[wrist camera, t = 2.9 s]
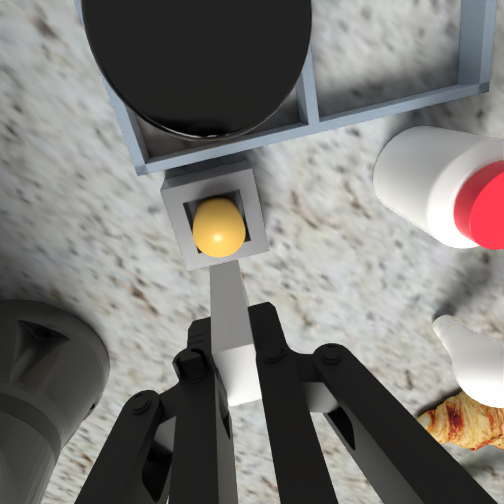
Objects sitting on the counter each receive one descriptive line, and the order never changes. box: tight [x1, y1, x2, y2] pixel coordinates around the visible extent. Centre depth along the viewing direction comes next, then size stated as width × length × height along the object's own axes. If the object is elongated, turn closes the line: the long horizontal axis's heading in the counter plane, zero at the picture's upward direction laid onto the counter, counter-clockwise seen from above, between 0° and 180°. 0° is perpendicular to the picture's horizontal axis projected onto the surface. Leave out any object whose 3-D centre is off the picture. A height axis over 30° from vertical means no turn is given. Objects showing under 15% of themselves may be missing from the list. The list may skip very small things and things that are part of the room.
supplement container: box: [81, 0, 312, 143], centre depth 20 cm, size 10×10×12 cm
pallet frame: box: [74, 0, 497, 176], centre depth 24 cm, size 27×14×2 cm, turn 102°
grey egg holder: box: [160, 160, 270, 271], centre depth 29 cm, size 7×7×4 cm
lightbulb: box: [433, 315, 504, 408], centre depth 34 cm, size 6×6×11 cm
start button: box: [193, 195, 245, 257], centre depth 26 cm, size 4×4×3 cm
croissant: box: [417, 390, 504, 451], centre depth 44 cm, size 21×10×8 cm, turn 105°
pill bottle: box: [373, 126, 504, 250], centre depth 26 cm, size 8×8×11 cm
